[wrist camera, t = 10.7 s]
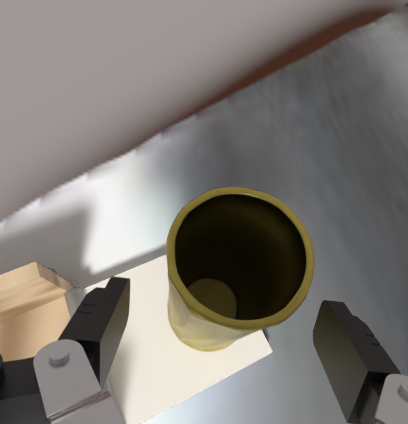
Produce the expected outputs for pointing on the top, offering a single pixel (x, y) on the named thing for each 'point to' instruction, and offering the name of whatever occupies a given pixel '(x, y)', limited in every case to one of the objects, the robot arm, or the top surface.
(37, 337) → the truck bed
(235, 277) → the vase
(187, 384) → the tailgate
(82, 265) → the top surface
